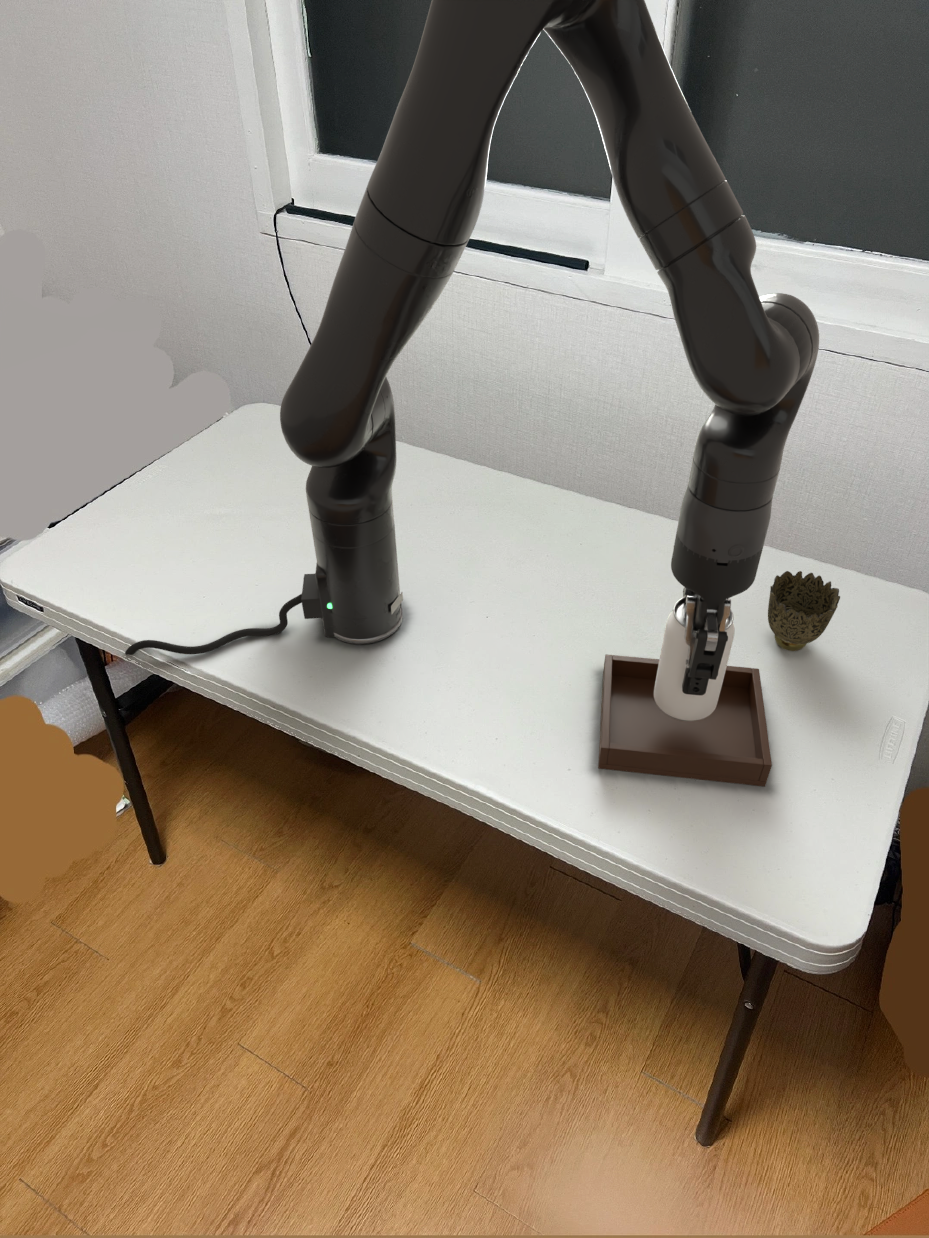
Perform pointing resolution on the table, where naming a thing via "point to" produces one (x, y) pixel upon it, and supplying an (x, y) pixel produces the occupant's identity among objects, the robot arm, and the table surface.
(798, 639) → the cup
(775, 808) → the table surface
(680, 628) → the can
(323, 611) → the robot arm
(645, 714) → the tray
